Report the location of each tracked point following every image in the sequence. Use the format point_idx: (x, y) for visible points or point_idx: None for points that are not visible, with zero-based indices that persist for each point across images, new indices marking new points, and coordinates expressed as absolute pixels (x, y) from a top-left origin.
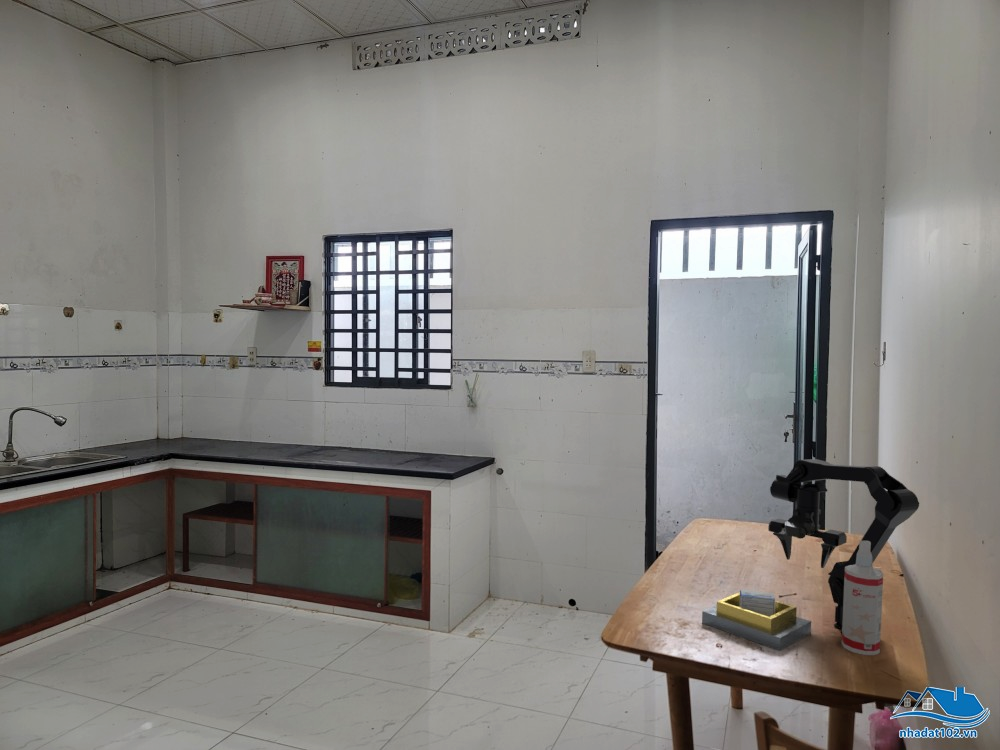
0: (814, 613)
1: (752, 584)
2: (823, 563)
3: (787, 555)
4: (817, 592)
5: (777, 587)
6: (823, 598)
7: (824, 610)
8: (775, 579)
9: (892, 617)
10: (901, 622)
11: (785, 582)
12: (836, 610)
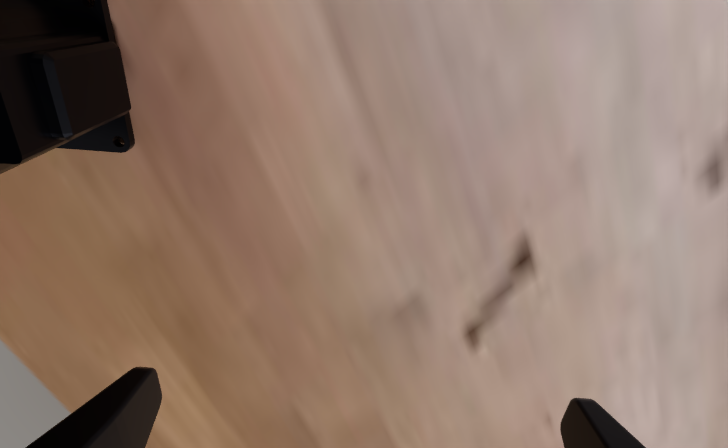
0: (291, 139)
1: (691, 317)
2: (78, 413)
3: (609, 439)
4: (398, 408)
5: (564, 358)
6: (351, 364)
7: (278, 224)
8: None
9: (64, 348)
10: (9, 321)
11: (546, 429)
12: (58, 48)
